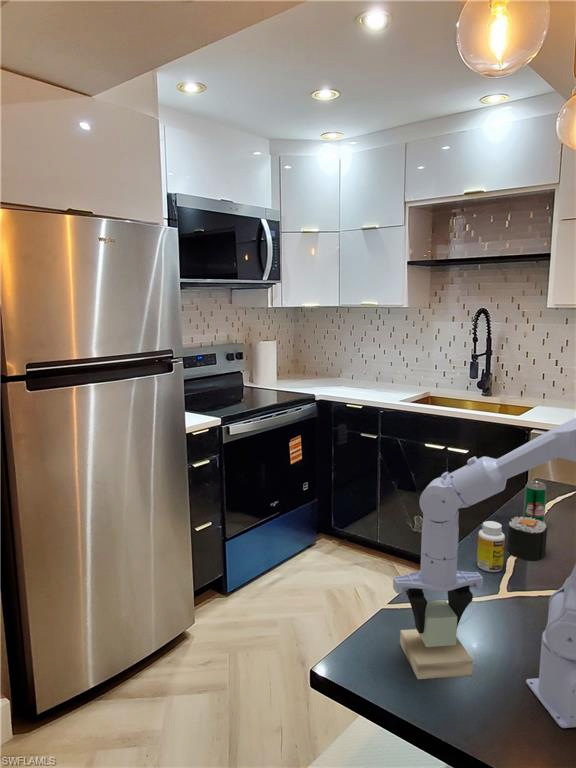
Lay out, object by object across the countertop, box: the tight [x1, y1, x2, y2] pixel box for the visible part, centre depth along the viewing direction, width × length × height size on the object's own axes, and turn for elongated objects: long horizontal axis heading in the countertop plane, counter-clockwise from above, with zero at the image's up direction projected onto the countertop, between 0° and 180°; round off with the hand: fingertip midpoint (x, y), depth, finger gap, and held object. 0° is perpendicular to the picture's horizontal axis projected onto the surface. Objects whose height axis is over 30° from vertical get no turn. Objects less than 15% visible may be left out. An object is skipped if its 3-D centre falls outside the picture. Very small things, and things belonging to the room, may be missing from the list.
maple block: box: [399, 628, 474, 680], centre depth 90 cm, size 9×9×3 cm
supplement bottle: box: [476, 520, 506, 573], centre depth 120 cm, size 6×6×10 cm
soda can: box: [522, 480, 547, 523], centre depth 142 cm, size 5×5×12 cm
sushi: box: [507, 516, 548, 562], centre depth 127 cm, size 8×8×8 cm
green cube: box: [415, 599, 458, 647], centre depth 89 cm, size 5×5×5 cm
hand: (435, 628), depth 89 cm, fingers closed on green cube, 5 cm apart
